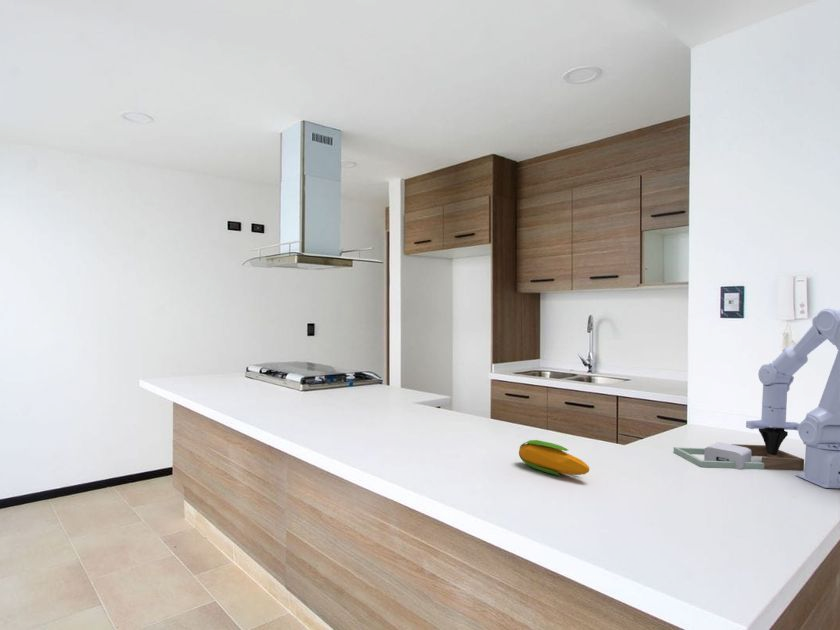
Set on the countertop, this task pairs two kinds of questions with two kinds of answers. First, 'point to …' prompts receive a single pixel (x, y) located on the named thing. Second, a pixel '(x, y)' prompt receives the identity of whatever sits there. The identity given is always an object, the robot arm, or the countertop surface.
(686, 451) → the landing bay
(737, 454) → the charger
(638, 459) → the countertop surface
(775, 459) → the brown wooden u-shaped frame
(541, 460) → the corn
